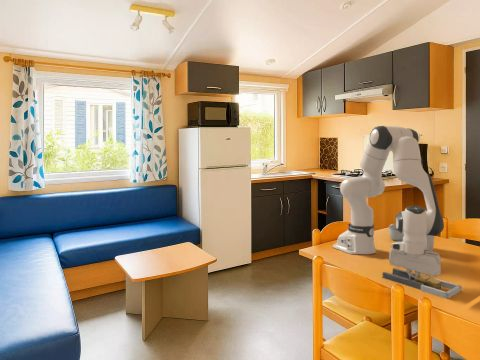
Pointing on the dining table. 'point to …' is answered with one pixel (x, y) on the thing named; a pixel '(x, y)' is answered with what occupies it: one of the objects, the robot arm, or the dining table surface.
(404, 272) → the slot bed
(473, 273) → the dining table surface
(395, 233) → the teacup
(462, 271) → the dining table surface
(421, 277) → the tan yellow cube
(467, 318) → the dining table surface
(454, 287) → the tray
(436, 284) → the yellow cube
